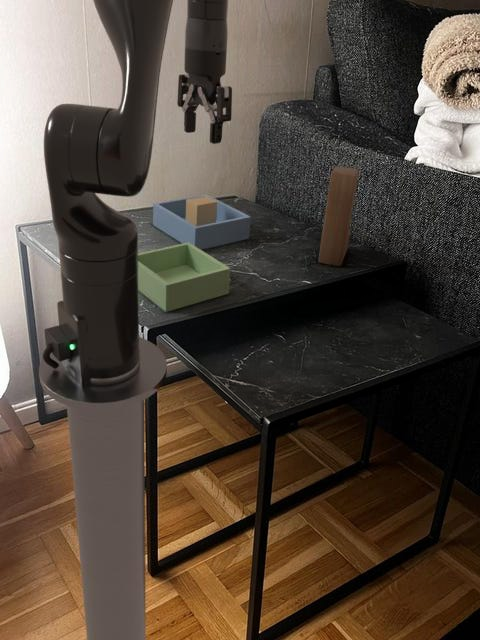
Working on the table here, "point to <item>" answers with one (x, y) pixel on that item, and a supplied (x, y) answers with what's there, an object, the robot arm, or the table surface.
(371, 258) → the table surface
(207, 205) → the block
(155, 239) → the table surface
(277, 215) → the table surface
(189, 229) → the blue tote
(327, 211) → the wooden block
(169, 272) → the green tote
